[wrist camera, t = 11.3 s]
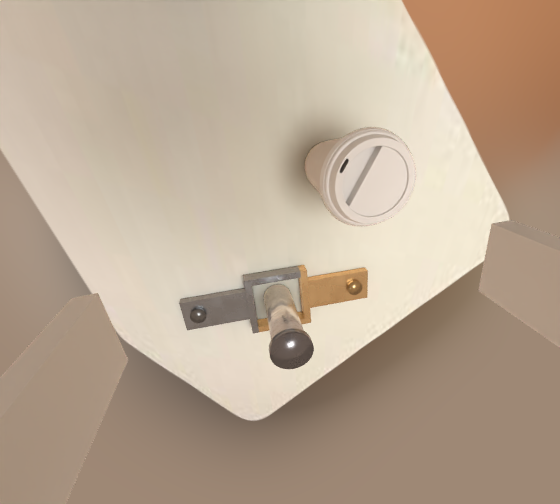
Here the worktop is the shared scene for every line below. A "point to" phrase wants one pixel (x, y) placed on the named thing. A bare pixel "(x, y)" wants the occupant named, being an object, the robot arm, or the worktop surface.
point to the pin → (286, 330)
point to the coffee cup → (362, 175)
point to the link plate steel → (231, 301)
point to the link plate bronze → (326, 291)
